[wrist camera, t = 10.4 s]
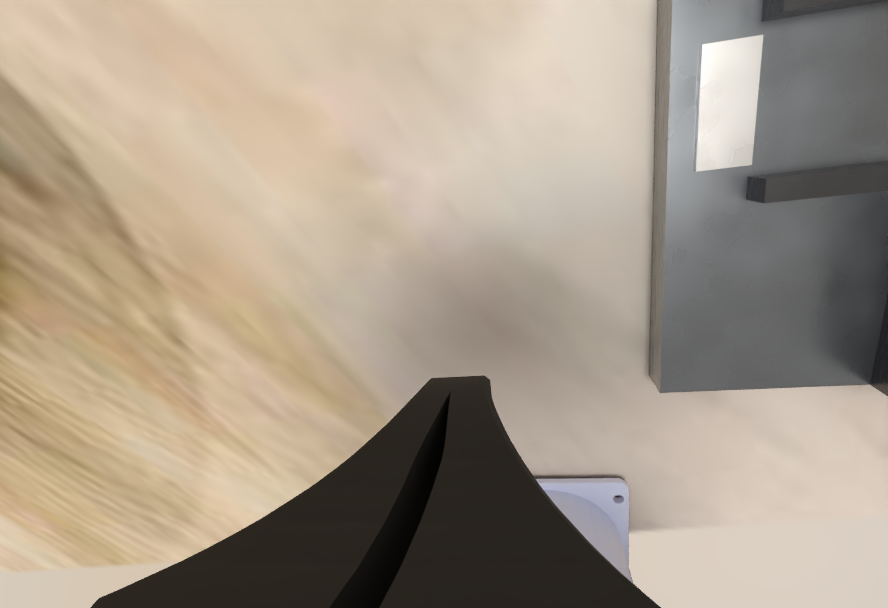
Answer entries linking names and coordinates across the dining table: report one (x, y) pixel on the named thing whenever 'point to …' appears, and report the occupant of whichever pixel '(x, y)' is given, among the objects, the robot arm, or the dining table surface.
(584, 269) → the dining table surface
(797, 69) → the panel
